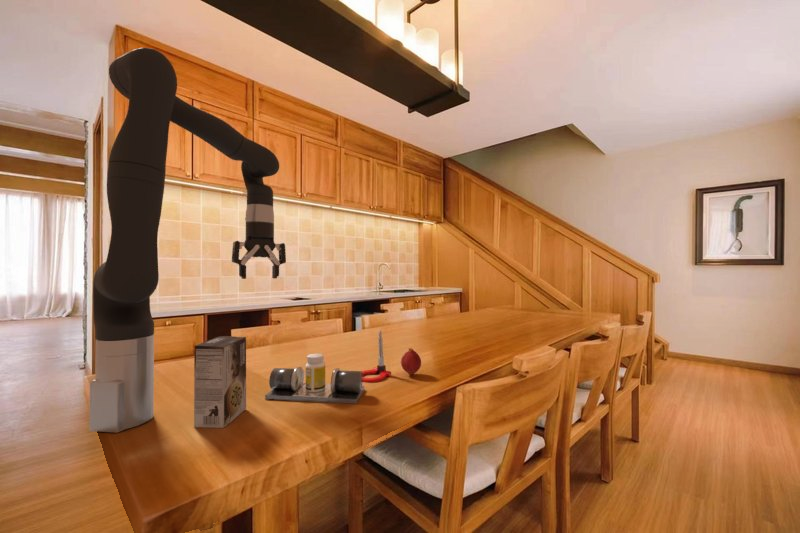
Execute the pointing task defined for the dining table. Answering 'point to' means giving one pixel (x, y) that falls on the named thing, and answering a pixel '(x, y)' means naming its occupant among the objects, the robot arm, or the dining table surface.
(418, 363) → the onion
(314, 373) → the supplement bottle
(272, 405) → the dining table surface
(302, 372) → the twin cylinder plate
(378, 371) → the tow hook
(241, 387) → the coffee box
